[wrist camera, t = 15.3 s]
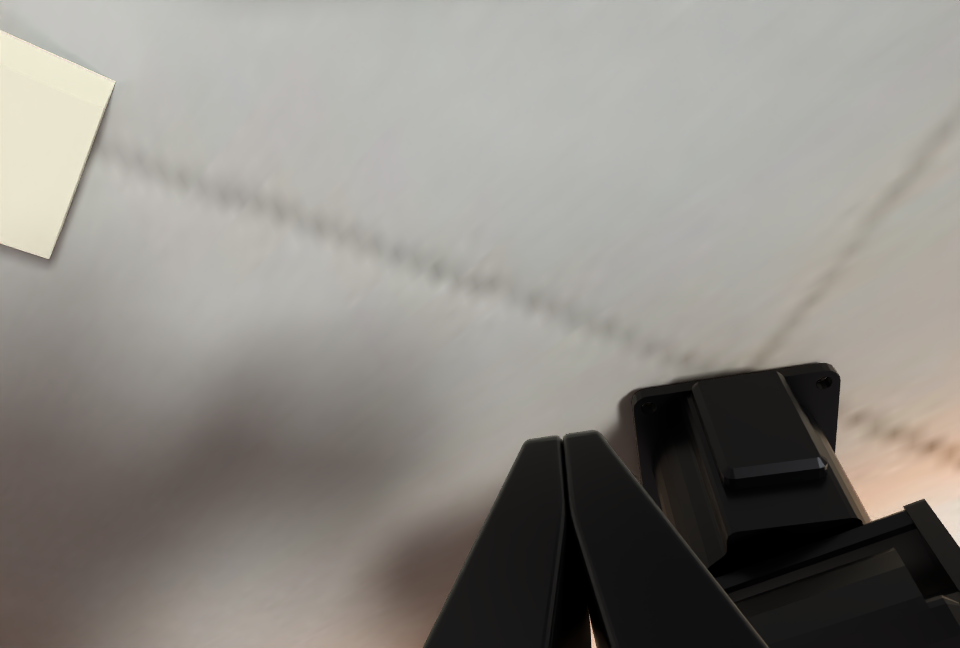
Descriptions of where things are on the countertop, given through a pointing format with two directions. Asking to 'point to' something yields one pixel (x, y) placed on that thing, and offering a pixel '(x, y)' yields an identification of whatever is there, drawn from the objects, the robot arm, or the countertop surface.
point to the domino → (43, 140)
